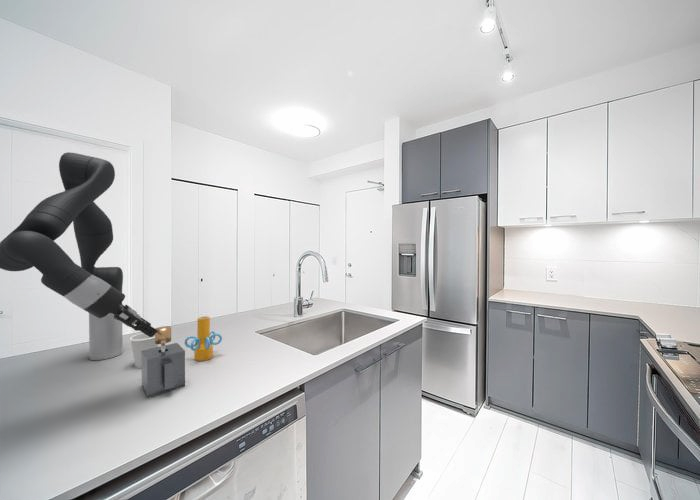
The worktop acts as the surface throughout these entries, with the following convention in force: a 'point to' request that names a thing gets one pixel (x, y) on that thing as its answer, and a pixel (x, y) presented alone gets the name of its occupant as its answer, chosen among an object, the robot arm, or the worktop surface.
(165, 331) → the plunger
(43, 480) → the worktop surface
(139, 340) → the dixie cup
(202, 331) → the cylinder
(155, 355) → the frame
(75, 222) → the robot arm
